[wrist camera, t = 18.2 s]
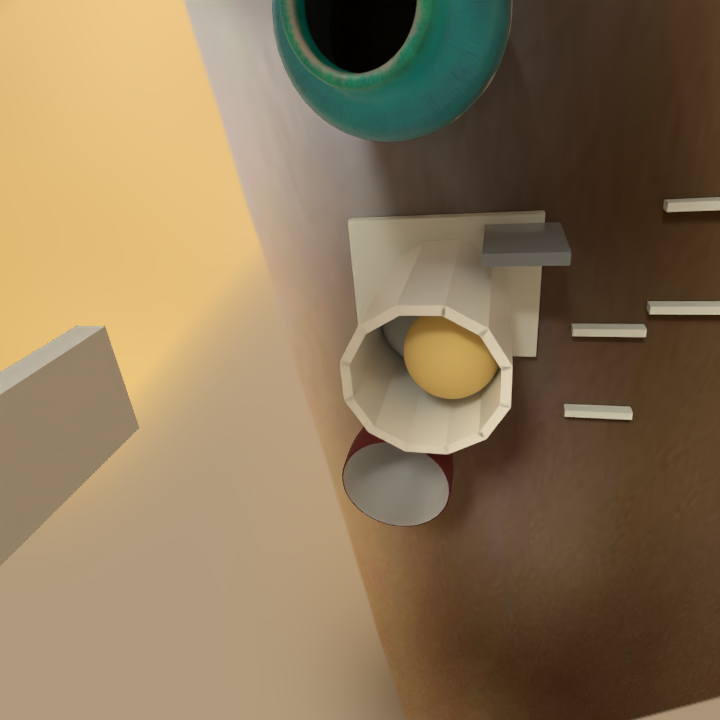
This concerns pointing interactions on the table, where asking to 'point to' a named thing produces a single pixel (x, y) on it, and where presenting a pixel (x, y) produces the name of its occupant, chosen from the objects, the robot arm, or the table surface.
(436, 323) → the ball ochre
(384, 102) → the vase
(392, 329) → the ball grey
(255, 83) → the table surface
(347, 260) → the table surface
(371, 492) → the mug
